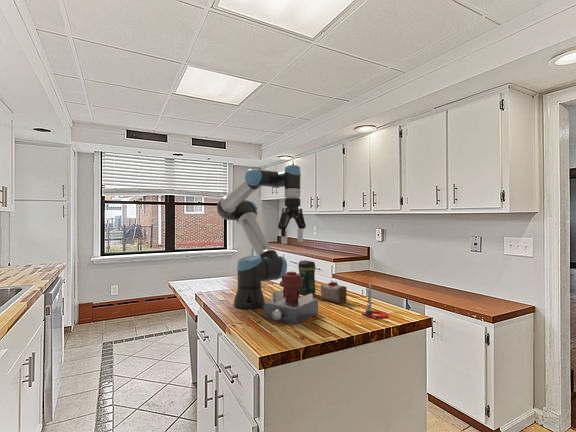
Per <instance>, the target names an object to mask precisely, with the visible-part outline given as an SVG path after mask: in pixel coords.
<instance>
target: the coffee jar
mask: <svg viewBox="0 0 576 432" xmlns="http://www.w3.org/2000/svg"><path fill="white" fill-rule="evenodd" d="M315 271H316V262H315V261H312V260H311V261H310V260H306V259H305V260H300V261H298V274H300V275H301V281H302V282H303V286H302V287H299V295H300V294H301V295H303V296H305V295H308V294H313V295H315V294H316V280H315V279H316V277H315V275H316V274H315V273H316V272H315Z"/></svg>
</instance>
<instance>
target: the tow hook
mask: <svg viewBox="0 0 576 432" xmlns="http://www.w3.org/2000/svg"><path fill="white" fill-rule="evenodd" d="M367 294H368V295H367V304H366V305H367V306H366V310H365V311H362V312H361V315H363V316H365V317H367V318H369V319H373V320H376V319H386V318H387V317H388V314H387V313H386V312H384V311H382V310H381V311H380V310H372V284H368V292H367Z"/></svg>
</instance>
